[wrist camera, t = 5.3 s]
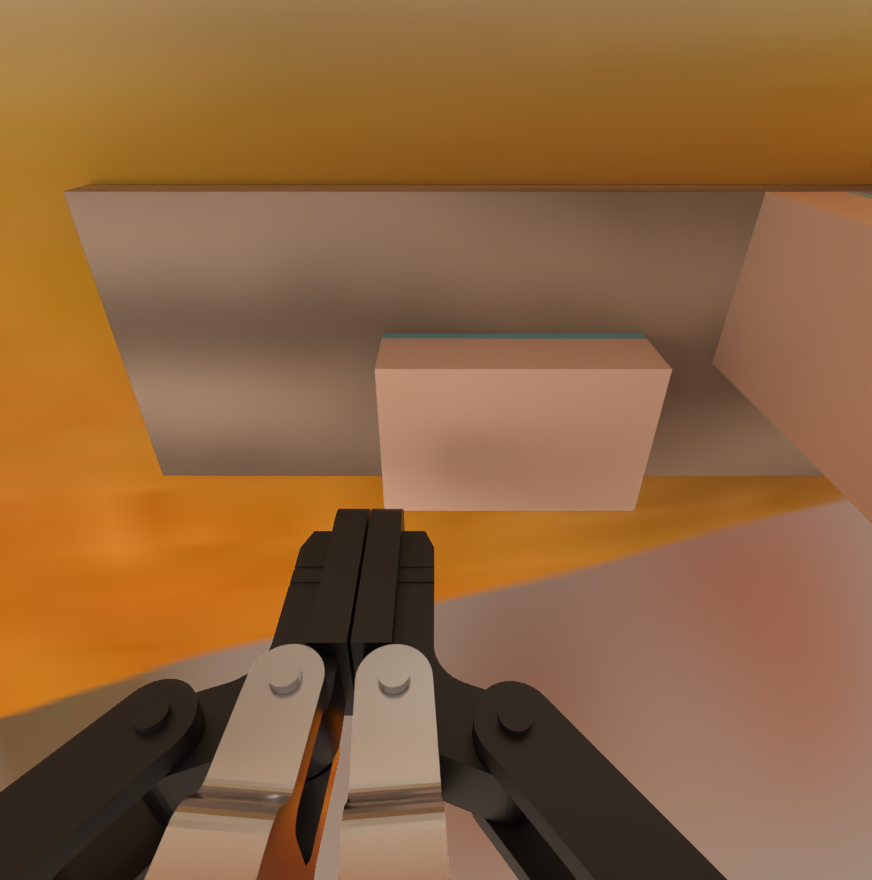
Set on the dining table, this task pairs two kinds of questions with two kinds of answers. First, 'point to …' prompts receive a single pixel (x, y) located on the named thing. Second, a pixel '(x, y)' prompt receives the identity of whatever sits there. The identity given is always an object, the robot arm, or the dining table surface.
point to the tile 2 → (809, 331)
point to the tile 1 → (516, 420)
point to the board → (410, 306)
